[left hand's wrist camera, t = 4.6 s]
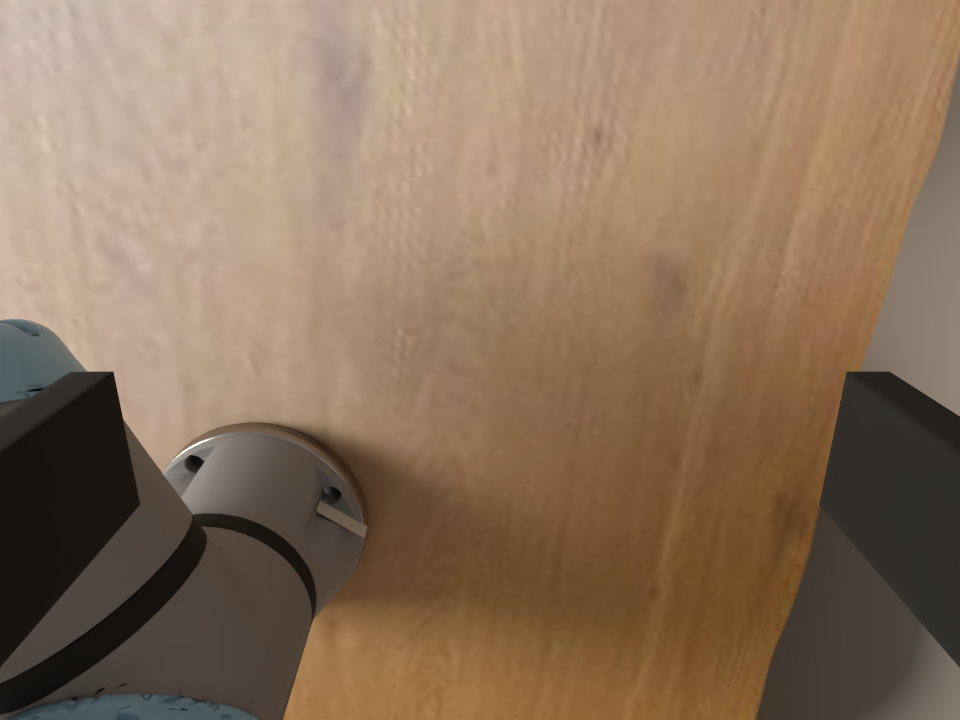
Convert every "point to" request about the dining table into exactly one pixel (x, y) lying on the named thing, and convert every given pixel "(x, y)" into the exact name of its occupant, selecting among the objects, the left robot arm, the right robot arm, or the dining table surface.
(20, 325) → the left robot arm
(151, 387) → the dining table surface
